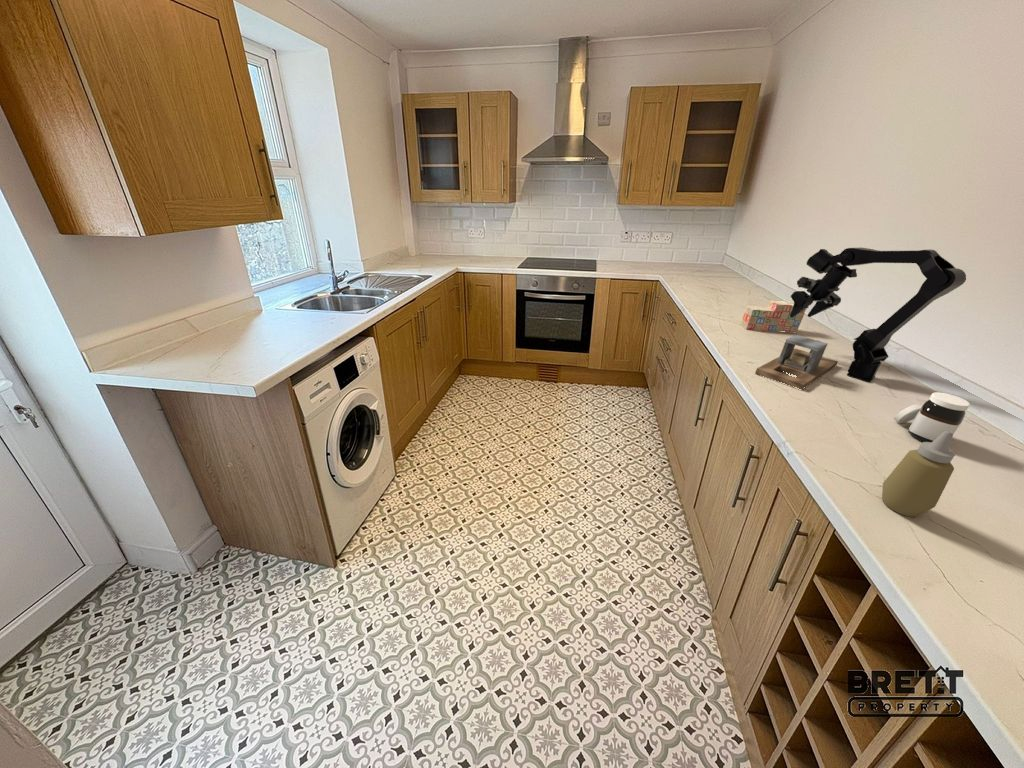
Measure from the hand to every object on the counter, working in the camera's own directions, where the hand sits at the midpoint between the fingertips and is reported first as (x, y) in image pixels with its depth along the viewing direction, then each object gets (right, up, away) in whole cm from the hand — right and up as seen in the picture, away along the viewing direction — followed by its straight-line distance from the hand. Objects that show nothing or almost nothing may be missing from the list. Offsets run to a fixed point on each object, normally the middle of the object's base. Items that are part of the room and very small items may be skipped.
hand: (799, 316), depth 152 cm
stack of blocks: (+5, -1, +27) cm, 27 cm away
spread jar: (-1, -39, -45) cm, 60 cm away
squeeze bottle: (-31, -50, -71) cm, 92 cm away
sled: (-6, -17, -11) cm, 21 cm away
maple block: (-11, -19, -14) cm, 26 cm away
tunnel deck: (-10, -21, -12) cm, 26 cm away
